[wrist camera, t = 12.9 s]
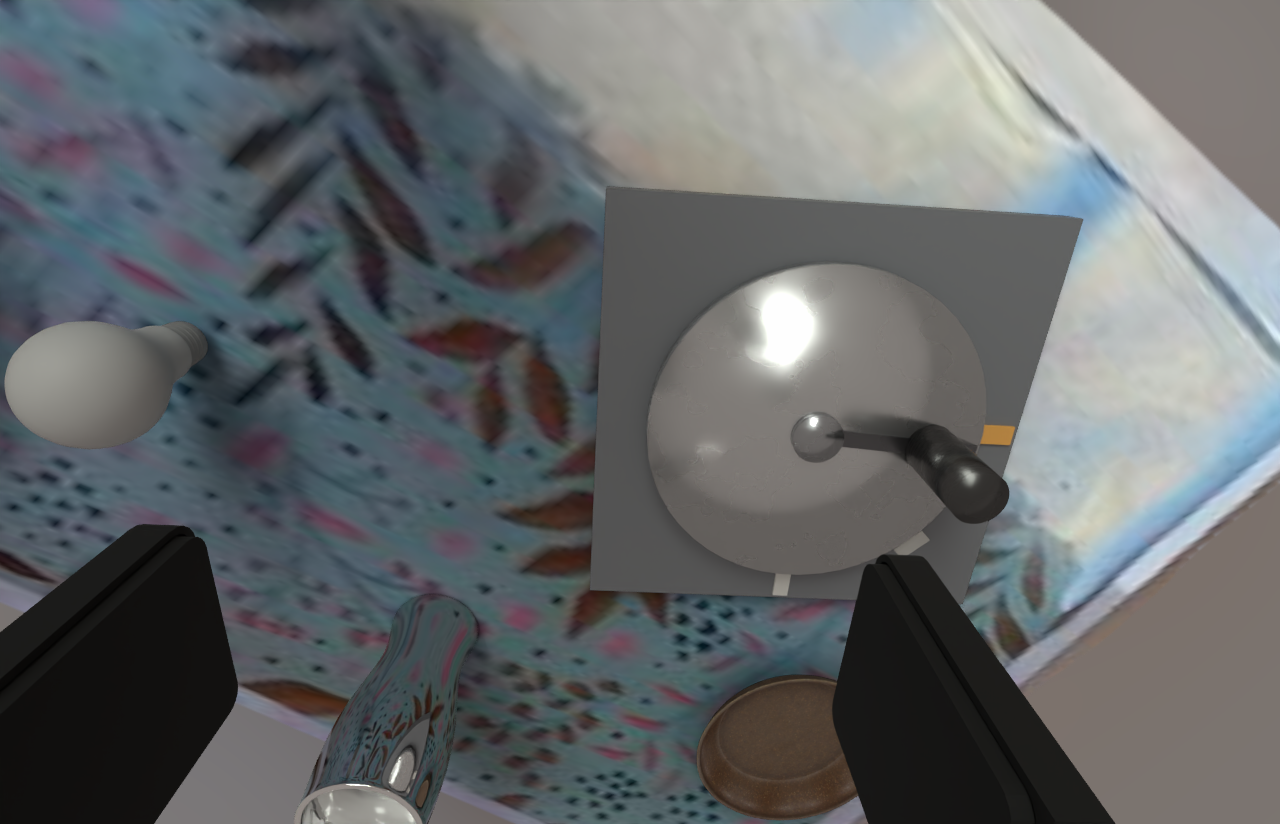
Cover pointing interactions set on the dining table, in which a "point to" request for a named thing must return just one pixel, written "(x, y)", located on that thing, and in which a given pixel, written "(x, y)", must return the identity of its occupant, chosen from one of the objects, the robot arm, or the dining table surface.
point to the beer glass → (396, 724)
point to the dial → (820, 420)
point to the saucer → (777, 751)
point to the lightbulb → (99, 380)
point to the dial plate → (756, 244)
